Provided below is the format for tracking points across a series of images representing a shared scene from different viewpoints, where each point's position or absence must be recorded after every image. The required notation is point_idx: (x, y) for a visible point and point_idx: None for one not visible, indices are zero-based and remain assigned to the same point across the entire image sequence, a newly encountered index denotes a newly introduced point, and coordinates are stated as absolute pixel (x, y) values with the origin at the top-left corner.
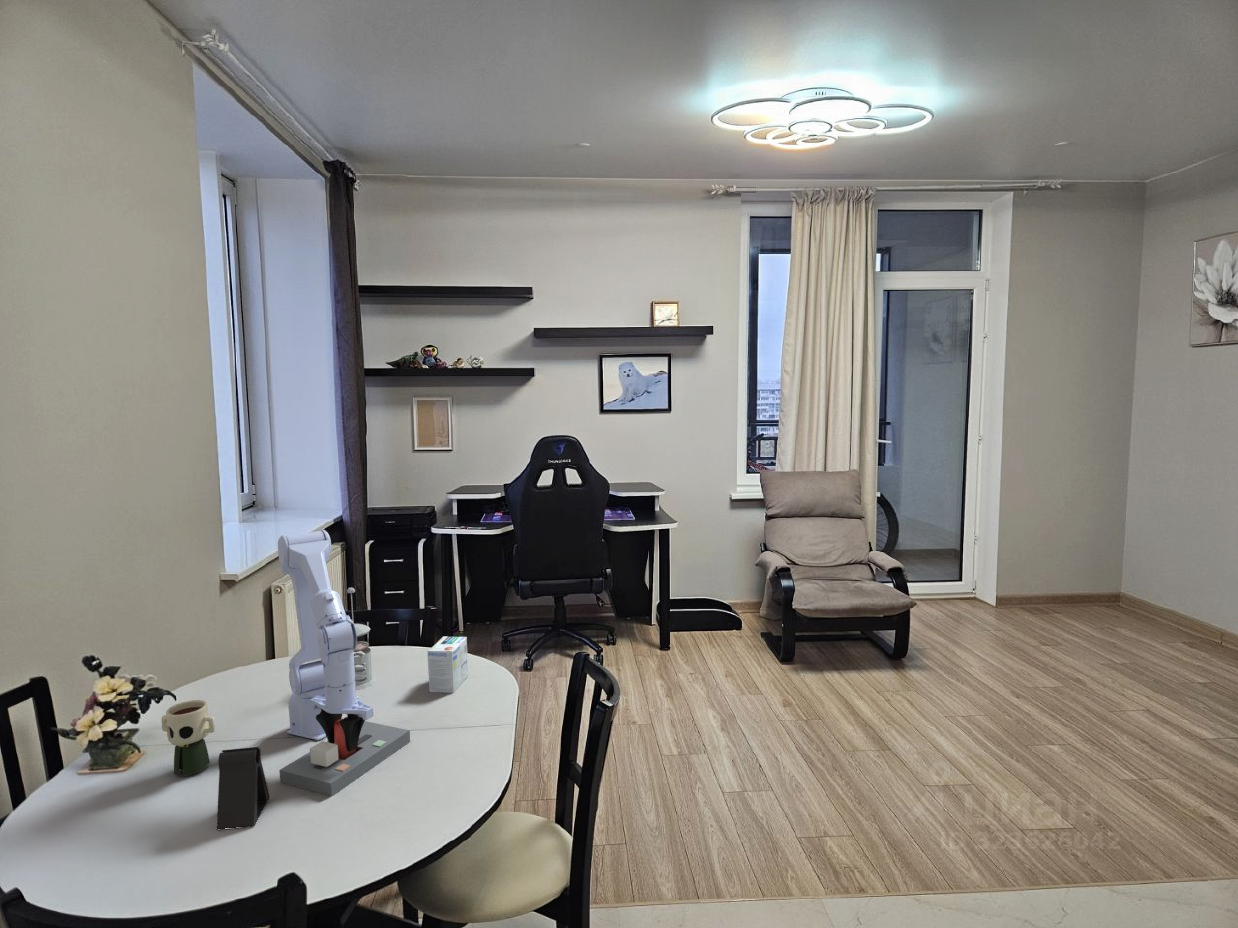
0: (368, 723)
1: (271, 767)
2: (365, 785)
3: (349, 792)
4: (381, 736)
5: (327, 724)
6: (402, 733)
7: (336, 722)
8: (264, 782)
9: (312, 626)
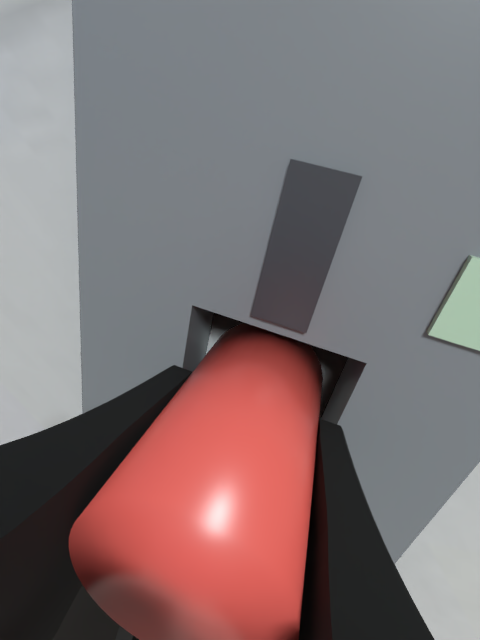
0: None
1: (16, 378)
2: (466, 532)
3: (407, 558)
4: (469, 163)
5: (60, 619)
6: None
7: (97, 579)
8: (126, 634)
9: None
